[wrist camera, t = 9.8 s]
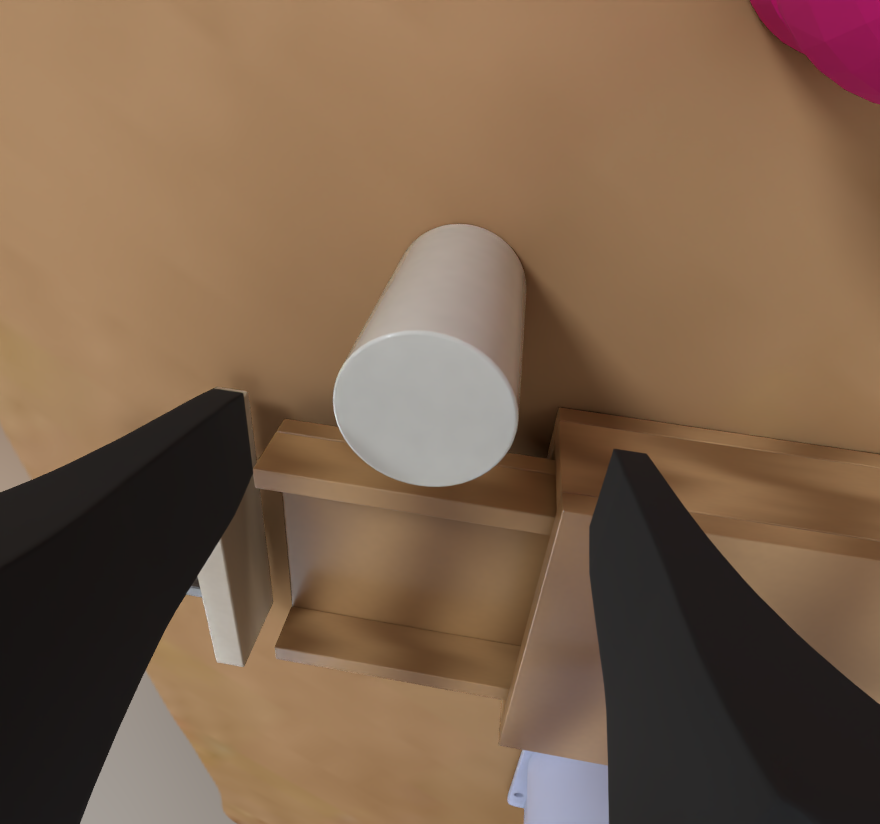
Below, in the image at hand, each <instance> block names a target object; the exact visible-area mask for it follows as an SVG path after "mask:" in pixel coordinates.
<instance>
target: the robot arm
mask: <svg viewBox="0 0 880 824" xmlns="http://www.w3.org/2000/svg"><path fill="white" fill-rule="evenodd" d="M252 475H253V466H252V458H251V450H250V442H249V434H248V426H247V418H246V409H245V401H244V393H241V392H235V391H228V390H221V389H215V388H213V389H211V390H209V391H207V392H205V393H203V394H201V395H199V396H197V397H195V398H193V399H191V400H189V401H188V402H186V403H184V404H182V405H180V406H178V407H177V408H175V409H173V410H171V411H169V412H167V413H166V414H164V415H162V416H160V417H158V418H157V419H155V420H153V421H151V422H149V423H147V424H146V425H144V426H142V427H140V428H138V429H136V430H135V431H133V432H131V433H129V434H127V435H125V436H123V437H122V438H120V439H118V440H116V441H114V442H112V443H110V444H108V445H106V446H104V447H102V448H100V449H97V450H95V451H93V452H91V453H89V454H87V455H85V456H83V457H81V458H79V459H77V460H75V461H73V462H71V463H69V464H67V465H65V466H63V467H60V468H58V469H56V470H54V471H52V472H49V473H47V474H45V475H42V476H40V477H38V478H35V479H33V480H30V481H28V482H26V483H23V484H21V485H18V486H16V487H13V488H11V489H8V490H6V491H3V492H0V824H80V822H81V819H82V817H83V814H84V811H85V809H86V806H87V804H88V801H89V798H90V796H91V793H92V791H93V788H94V786H95V783H96V781H97V779H98V776H99V774H100V772H101V769H102V767H103V764H104V762H105V760H106V757H107V755H108V753H109V750H110V748H111V745H112V743H113V741H114V739H115V736H116V733H117V731H118V729H119V727H120V724H121V722H122V720H123V718H124V716H125V714H126V711H127V709H128V707H129V705H130V703H131V700H132V698H133V696H134V694H135V691H136V689H137V687H138V685H139V683H140V681H141V678H142V676H143V674H144V672H145V670H146V668H147V666H148V664H149V662H150V660H151V658H152V656H153V654H154V652H155V650H156V648H157V645H158V643H159V641H160V639H161V637H162V635H163V633H164V631H165V629H166V627H167V626H168V624H169V622H170V620H171V619H172V617H173V615H174V613H175V612H176V610H177V608H178V606H179V605H180V603H181V602H182V600H183V598H184V597H185V595H186V594H187V592H188V590H189V589H190V587H191V586H192V584H193V582H194V581H195V579H196V578H197V576H198V574H199V573H200V571H201V570H202V568H203V566H204V565H205V563H206V562H207V560H208V558H209V557H210V555H211V554H212V552H213V550H214V549H215V547H216V545H217V544H218V542H219V541H220V539H221V537H222V536H223V534H224V532H225V531H226V529H227V527H228V526H229V524H230V522H231V521H232V519H233V517H234V516H235V514H236V511H237V509H238V507H239V505H240V503H241V501H242V498H243V496H244V494H245V491H246V489H247V487H248V484H249V482H250V480H251V477H252ZM589 575H590V583H591V591H592V599H593V607H594V615H595V622H596V630H597V637H598V644H599V652H600V659H601V667H602V674H603V682H604V691H605V702H606V720H607V752H608V766H607V765H602V764H596V763H591V762H585V761H580V760H575V759H569V758H564V757H559V756H553V755H548V754H543V753H537V752H532V751H527V750H522V752H521V755H520V758H519V762H518V765H517V768H516V771H515V774H514V777H513V780H512V783H511V786H510V790H509V793H508V803H509V804H510V805H512V806H516V807H521V808H524V824H880V704H879V703H877V702H876V701H875V700H874V699H872V698H871V697H870V696H869V695H868V694H866V693H865V692H864V691H863V690H861V689H860V688H859V687H858V686H856V685H855V684H854V683H853V682H852V681H850V680H849V679H848V678H847V677H846V676H844V675H843V674H842V673H841V672H840V671H839V670H838V669H836V668H835V667H834V666H833V665H832V664H831V663H830V662H828V661H827V660H826V659H825V658H824V657H823V656H822V655H820V654H819V653H818V652H817V651H816V650H815V649H814V648H812V647H811V646H810V645H809V644H808V643H807V642H806V641H805V640H804V639H803V638H802V637H800V636H799V635H798V634H797V633H796V632H795V631H794V630H793V629H792V628H791V627H790V626H789V625H788V624H787V623H786V622H785V621H784V620H783V619H782V618H781V617H780V616H779V615H778V614H777V613H776V612H775V611H774V610H773V609H772V608H771V607H770V606H769V605H768V604H767V603H766V602H765V601H764V600H763V599H762V598H761V597H760V596H759V595H758V594H757V593H756V592H755V591H754V590H753V589H752V588H751V587H750V586H749V584H748V583H747V582H746V581H745V580H744V579H743V578H742V577H741V576H740V574H739V573H738V572H737V571H736V570H735V569H734V567H733V566H732V565H731V564H730V563H729V562H728V561H727V559H726V558H725V557H724V556H723V555H722V554H721V553H720V551H719V550H718V549H717V548H716V546H715V545H714V544H713V543H712V541H711V540H710V539H709V538H708V537H707V535H706V534H705V533H704V531H703V530H702V529H701V528H700V526H699V525H698V524H697V522H696V521H695V520H694V518H693V517H692V516H691V515H690V513H689V512H688V510H687V509H686V508H685V506H684V505H683V504H682V502H681V501H680V499H679V498H678V497H677V495H676V494H675V493H674V491H673V490H672V488H671V487H670V486H669V484H668V483H667V481H666V480H665V478H664V477H663V476H662V474H661V473H660V471H659V470H658V469H657V467H656V466H655V464H654V463H653V461H652V460H651V459H650V457H649V456H648V455H647V453H640V452H633V451H627V450H620V449H613V453H612V456H611V459H610V462H609V465H608V469H607V472H606V475H605V478H604V481H603V485H602V488H601V491H600V494H599V497H598V501H597V504H596V507H595V510H594V513H593V516H592V520H591V523H590V526H589Z"/></svg>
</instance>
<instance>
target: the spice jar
mask: <svg viewBox="0 0 880 824" xmlns="http://www.w3.org/2000/svg"><path fill="white" fill-rule="evenodd" d="M525 304H526V279H525V273H524V270H523V267H522V265H521V263H520V260H519V258H518V257H517V255H516V254H515V252H514V251H513V250H512V248H511V247H510V246H509V245H508V244H507V243H506V242H505V241H504V240H503V239H501V238H500V237H499V236H497V235H495V234H494V233H492V232H490V231H488V230H486V229H484V228H481V227H478V226H473V225H468V224H449V225H444V226H440V227H437V228H434V229H432V230H430V231H428V232H426V233H424V234H423V235H421V236H420V237H419V238H417V239H416V240H415V241H414V242H413V243H412V244H411V245H410V246H409V248H408V249H407V250H406V252H405V253H404V255H403V257H402V259H401V260H400V262H399V264H398V266H397V268H396V269H395V271H394V273H393V275H392V277H391V279H390V280H389V282H388V284H387V286H386V288H385V289H384V291H383V293H382V295H381V297H380V298H379V300H378V302H377V304H376V306H375V308H374V309H373V311H372V313H371V315H370V317H369V318H368V320H367V322H366V324H365V326H364V327H363V329H362V331H361V333H360V335H359V336H358V338H357V340H356V342H355V344H354V346H353V347H352V349H351V351H350V353H349V355H348V356H347V358H346V360H345V362H344V364H343V365H342V367H341V369H340V371H339V373H338V376H337V378H336V381H335V385H334V390H333V408H334V414H335V418H336V422H337V424H338V427H339V429H340V432H341V434H342V435H343V437H344V439H345V441H346V442H347V443H348V445H349V446H350V447H351V449H352V450H353V451H354V452H355V453H356V454H357V455H358V456H359V457H360V458H361V459H362V460H363V461H364V462H366V463H367V464H368V465H369V466H371V467H372V468H374V469H375V470H377V471H379V472H381V473H382V474H384V475H386V476H388V477H391V478H393V479H395V480H398V481H401V482H405V483H408V484H413V485H418V486H426V487H444V486H453V485H457V484H462V483H465V482H468V481H471V480H473V479H476V478H478V477H480V476H482V475H483V474H485V473H487V472H488V471H490V470H491V469H492V468H493V467H495V466H496V465H497V464H498V463H499V462H500V461H501V460H502V459H503V457H504V456H505V455H506V454H507V452H508V451H509V449H510V448H511V446H512V443H513V441H514V439H515V436H516V433H517V429H518V421H519V406H520V389H521V372H522V355H523V338H524V321H525Z"/></svg>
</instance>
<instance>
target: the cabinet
mask: <svg viewBox="0 0 880 824" xmlns="http://www.w3.org/2000/svg"><path fill="white" fill-rule="evenodd" d="M613 449H620V450H627V451H633V452H640V453H647V455H648V456H649V457H650V459H651V460H652V461H653V463H654V464H655V466H656V467H657V469H658V470H659V471H660V473H661V474H662V476H663V477H664V478H665V480H666V481H667V483H668V484H669V486H670V487H671V488H672V490H673V491H674V493H675V494H676V495H677V497H678V498H679V499H680V501H681V502H682V504H683V505H684V506H685V508H686V509H687V510H688V512H689V513H690V515H691V516H692V517H693V518H694V520H695V521H696V522H697V524H698V525H699V526H700V528H701V529H702V530H703V531H704V533H705V534H706V535H707V537H708V538H709V539H710V540H711V541H712V543H713V544H714V545H715V546H716V548H717V549H718V550H719V551H720V553H721V554H722V555H723V556H724V557H725V558H726V559H727V561H728V562H729V563H730V564H731V565H732V566H733V567H734V569H735V570H736V571H737V572H738V573H739V574H740V576H741V577H742V578H743V579H744V580H745V581H746V582H747V583H748V584H749V586H750V587H751V588H752V589H753V590H754V591H755V592H756V593H757V594H758V595H759V596H760V597H761V598H762V599H763V600H764V601H765V602H766V603H767V604H768V605H769V606H770V607H771V608H772V609H773V610H774V611H775V612H776V613H777V614H778V615H779V616H780V617H781V618H782V619H783V620H784V621H785V622H786V623H787V624H788V625H789V626H790V627H791V628H792V629H793V630H794V631H795V632H796V633H797V634H798V635H799V636H800V637H802V638H803V639H804V640H805V641H806V642H807V643H808V644H809V645H810V646H811V647H812V648H814V649H815V650H816V651H817V652H818V653H819V654H820V655H822V656H823V657H824V658H825V659H826V660H827V661H828V662H830V663H831V664H832V665H833V666H834V667H835V668H836V669H838V670H839V671H840V672H841V673H842V674H843V675H844V676H846V677H847V678H848V679H849V680H850V681H852V682H853V683H854V684H855V685H856V686H858V687H859V688H860V689H861V690H863V691H864V692H865V693H866V694H868V695H869V696H870V697H871V698H872V699H874V700H875V701H876V702H877V703H879V704H880V454H873V453H867V452H860V451H853V450H846V449H839V448H832V447H826V446H819V445H812V444H805V443H798V442H792V441H785V440H778V439H771V438H764V437H758V436H751V435H744V434H737V433H730V432H723V431H717V430H710V429H703V428H696V427H689V426H683V425H676V424H669V423H662V422H655V421H648V420H642V419H635V418H628V417H621V416H614V415H608V414H601V413H594V412H587V411H580V410H574V409H567V408H559V409H558V413H557V417H556V421H555V425H554V429H553V434H552V438H551V442H550V446H549V451H548V455H547V459H552V460H555V465H556V503H557V513H556V516H555V520H554V524H553V528H552V531H551V535H550V539H549V543H548V546H547V550H546V554H545V558H544V561H543V565H542V569H541V573H540V576H539V580H538V584H537V588H536V591H535V595H534V599H533V603H532V606H531V610H530V614H529V618H528V621H527V625H526V629H525V633H524V636H523V640H522V644H521V648H520V652H519V655H518V659H517V663H516V667H515V670H514V674H513V678H512V682H511V685H510V689H509V693H508V697H507V700H501V713H500V728H499V745H500V746H505V747H510V748H516V749H521V750H527V751H532V752H537V753H543V754H548V755H553V756H559V757H564V758H569V759H575V760H580V761H585V762H591V763H596V764H602V765H607V766H608V752H607V720H606V702H605V691H604V682H603V674H602V667H601V659H600V652H599V644H598V637H597V630H596V622H595V615H594V607H593V599H592V591H591V583H590V575H589V526H590V523H591V520H592V516H593V513H594V510H595V507H596V504H597V501H598V497H599V494H600V491H601V488H602V485H603V481H604V478H605V475H606V472H607V469H608V465H609V462H610V459H611V456H612V453H613Z"/></svg>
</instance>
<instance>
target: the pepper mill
mask: <svg viewBox="0 0 880 824" xmlns="http://www.w3.org/2000/svg"><path fill="white" fill-rule="evenodd" d="M750 2H751V4H752V6H753V8H754V9H755V11H756V13H757V14H758V16H759V18H760V19H761V21H762V22H763V23H764V24H765V25H766V27H767V28H768V29H769V30H770V31H771V32H772V33H773V34H774V35H775V36H776V37H777V38H779V39H780V40H781V41H782V42H783V43H785V44H787V45H788V46H790V47H792V48H793V49H795V50H797V51H798V52H800V53H803V54H805V55H806V56H807V57H808V58H809V60H810V61H811V62H812V63H813V64H814V65H815V67H816V68H817V69H818V70H820V71H821V72H822V73H823V74H825V75H826V76H827V77H829V78H830V79H831V80H833V81H834V82H835V83H837V84H838V85H839V86H841V87H842V88H843V89H845V90H847V91H849V92H851V93H853V94H855V95H857V96H860V97H862V98H864V99H866V100H868V101H870V102H873V103H877V104H880V0H750Z"/></svg>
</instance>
